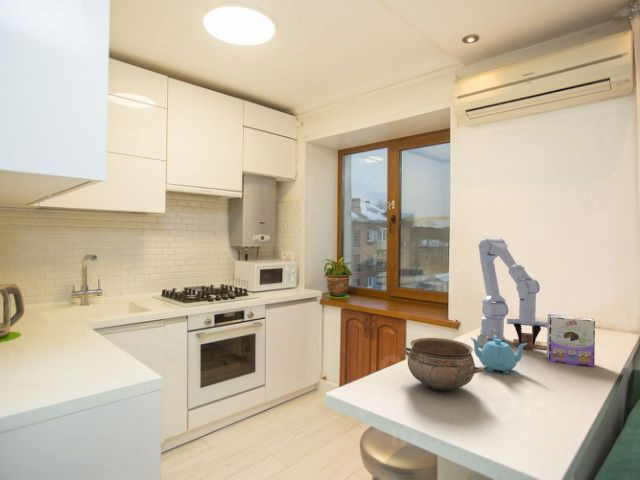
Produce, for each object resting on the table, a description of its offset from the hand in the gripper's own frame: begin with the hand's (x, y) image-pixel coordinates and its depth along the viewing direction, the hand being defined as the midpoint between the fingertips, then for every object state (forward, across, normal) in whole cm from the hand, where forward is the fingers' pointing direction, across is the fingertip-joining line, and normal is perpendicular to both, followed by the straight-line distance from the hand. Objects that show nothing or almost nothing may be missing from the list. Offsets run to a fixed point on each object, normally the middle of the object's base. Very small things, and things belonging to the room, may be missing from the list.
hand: (526, 343), depth 151 cm
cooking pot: (+2, -30, -55) cm, 63 cm away
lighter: (+2, -15, -5) cm, 16 cm away
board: (+2, +4, +5) cm, 7 cm away
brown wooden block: (+2, 0, +3) cm, 3 cm away
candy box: (+2, +12, -12) cm, 17 cm away
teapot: (+2, -13, -31) cm, 34 cm away
